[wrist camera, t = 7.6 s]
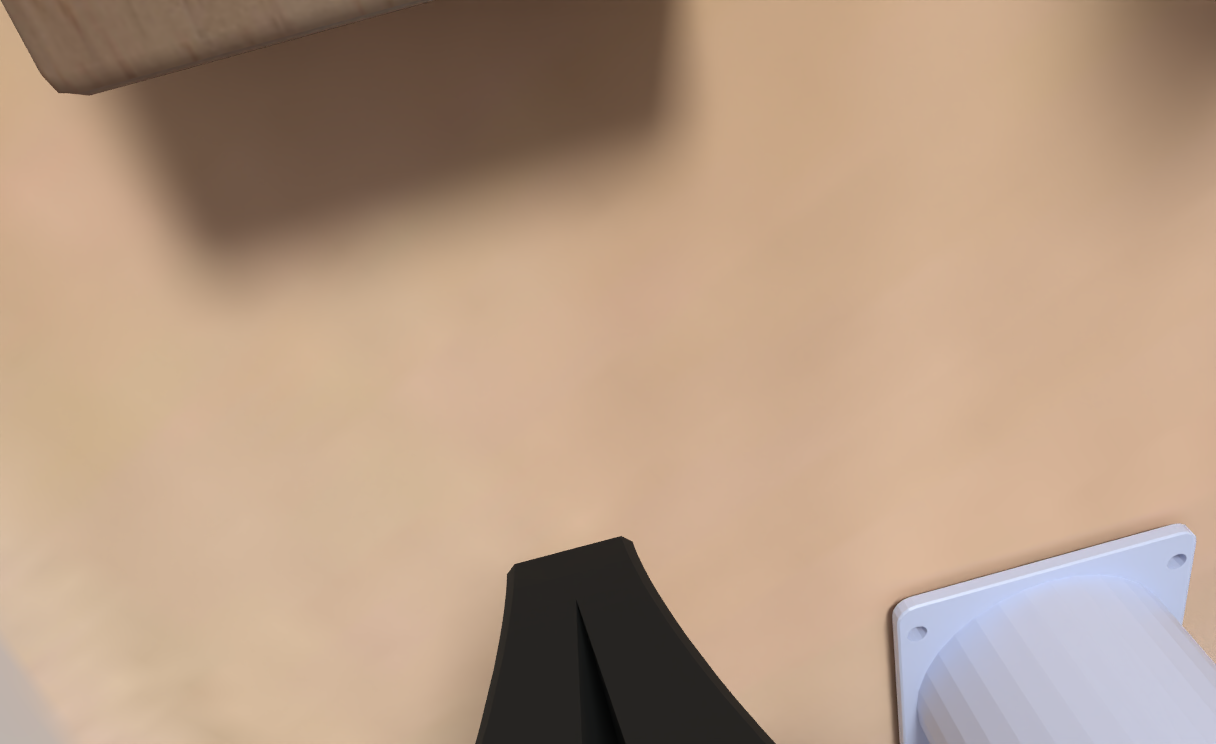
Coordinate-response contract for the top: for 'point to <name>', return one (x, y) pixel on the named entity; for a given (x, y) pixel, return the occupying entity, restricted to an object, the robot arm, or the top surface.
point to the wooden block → (165, 33)
